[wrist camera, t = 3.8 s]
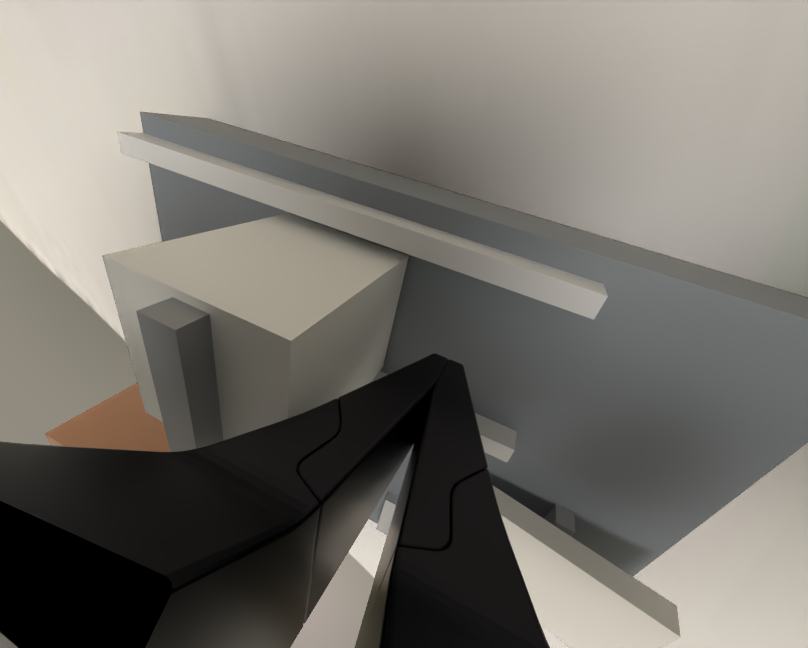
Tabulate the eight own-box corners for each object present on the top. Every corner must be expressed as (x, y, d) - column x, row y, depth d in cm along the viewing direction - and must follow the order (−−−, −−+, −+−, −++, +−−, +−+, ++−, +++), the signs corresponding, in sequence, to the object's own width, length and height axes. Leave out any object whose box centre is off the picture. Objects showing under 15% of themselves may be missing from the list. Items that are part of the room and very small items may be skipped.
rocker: (677, 605, 9) (680, 637, 9) (608, 647, 11) (607, 676, 10) (480, 477, 11) (471, 494, 11) (450, 530, 13) (441, 548, 13)
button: (261, 412, 13) (157, 506, 9) (262, 483, 15) (180, 578, 12) (169, 364, 14) (45, 433, 10) (184, 438, 16) (87, 513, 13)
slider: (408, 256, 9) (262, 361, 5) (382, 366, 11) (264, 516, 7) (287, 213, 10) (60, 265, 5) (284, 323, 12) (118, 429, 7)
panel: (830, 304, 8) (1053, 426, 5) (563, 566, 16) (567, 692, 12) (207, 118, 13) (63, 104, 9) (230, 393, 20) (157, 448, 16)
